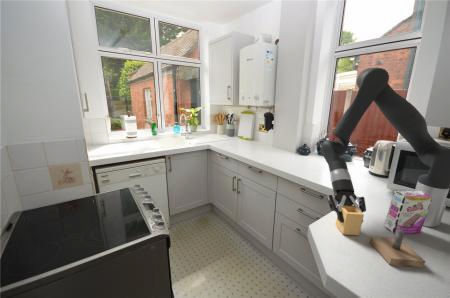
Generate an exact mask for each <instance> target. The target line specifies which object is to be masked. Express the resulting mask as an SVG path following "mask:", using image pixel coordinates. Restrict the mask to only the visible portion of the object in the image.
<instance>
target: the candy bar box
mask: <svg viewBox="0 0 450 298" xmlns="http://www.w3.org/2000/svg"><path fill="white" fill-rule="evenodd" d="M393 191H394V192H393V193H392V198H391V201H390V205H389V208H388V211H387V215H386V217H385V222H384V226H383V227H384V228H386V229H387V230H388V231H390V232H391V233H392V234H396V231H397V230H398V229H401V230H403V231H404V234H412V235H413V234H414V235H415V234H416V235H417V234H421V231H422V228H423V223H424V220H425V218H426V214H427V212H428V209H429V206H430V203H431V201H432V198H433V197H432V196H430V195H427V194H425V193H423V192H421V191H415V190H413V191H412V190H393Z"/></svg>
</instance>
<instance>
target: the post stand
mask: <svg viewBox="0 0 450 298" xmlns="http://www.w3.org/2000/svg"><path fill="white" fill-rule="evenodd" d="M404 237H405V233H404V231H403V230H401V229H398V230H397V231H396V233H394V238H393V237H380V236H379V237H378V236H370V238H369V242H368V243H369V244H370V245H371V246H372V248H374V250H375V251H376V252H377V253H378V254H379V255H380V256H381V258H382V259H383V260H384V261H385V262H386V263H387V265H389V266H399V267H410V268H420V269H421V268H422V269H423V268H424V266H425V263H426V260H424V258H422V256H421V255H419V254H418V253H416V251H414V250H413V249H412V248H411V247H410V246H409V245H408V244H407V243H406V242H404V240H403V239H404Z"/></svg>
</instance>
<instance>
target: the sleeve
mask: <svg viewBox="0 0 450 298" xmlns="http://www.w3.org/2000/svg"><path fill="white" fill-rule="evenodd" d="M353 206H354V205H353ZM353 206H347V205H344V206H343V207H341V208H342V211H341V212H342V213H343V218H344V222H343V223H340V221H339V220H338V217H337V216H336V220H335V226H336V228H338V230H339V231H340V232H341V234H342V235H348V236H360V234H361V229H362V225H363V223H362V221H363V222H364V216H365V214H364V212H363V213H362V212H361V211H360V210H359V209H358V208H355V207H353Z"/></svg>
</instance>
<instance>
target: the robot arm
mask: <svg viewBox="0 0 450 298" xmlns="http://www.w3.org/2000/svg"><path fill="white" fill-rule="evenodd" d="M389 81H390V74H389V72H388V71H387V70H386V69H384V68H383V67H369V68H365V69H363V70H362V71H360V73H359V74H357V77H356V85H357V87H358V90H357V92H356V95H355V97H354V99H353V101H352V103H351V104H350V105H349V106H348V108H347V109H346V110H345V112H344V113H343V114H342V116H340V119H339V120H338V122H337V124H336V126H335V128H334V129H333V135H334V136H335V137H336V138H337V141H336V140H335V141H334V140H330V139H328V140H324V141H323V142H322V144H321V147H320V150H321V154H322V156H323V158H324V159H325V161H326V163H327V165H328V170H329V175H330V177H329V178H330V182H331V186H332V192H333V194H329V195H327V197H326V199H327V202H328V205H329V208H330V211H331V212H335V213H336V218H337V217H338V220H339V221H340V223H343V222H344V218H343V213H342V212H341V211H342V208H341V207H343V206H344V205H347V206H353V207H355V208H358V209H359V210H360V211H361V212H362V213H363V214H364V213H365V212H366V211H367V206H366V201H365V200H366V199H365V197H364V196H357V195H356V193H355V188H354V185H353V181H352V177H351V174H350V172H349V169H348V168H349V167H348V164H347V162H346V160H345V158H342V157H343V156H344V155H345V154H346V153H347V150H348V148H349V145H350V144H349V143H350V139H351V136H352V134H353V133H354V131H355V130H356V128H357V126H358V124H359V123H360V121H361V120H362V119H363V116H364V115H365V113H366V112H367V111H368V109H369V107H371V104H372V103H373V102H374V103H375V104H376V106H377V108H378V109H379V111H380V112H381V113H382V115H383V116H384V117H385V119H387V121H388V122H389V123H390V125H391V126H392V127H393V128H394V129H395V130H396V132H398V133H399V134H400V136H402V137H403V139H404V140H405V141H406V142H407V143H408V144H409V145H410V146H411V148H412V149H413V150H414V152H415V154H416V155H417V157H418V158H419V160H420V161H421V162H422V163H423V164H424V165H425V166H427V167H429V170H428V173H427V174H425V173H424V174H423V173H422V174H420V175H419V176H418V179H417V182H416V185H415V190H414V191H421V192H423V193H425V194H427V195H430V196H432V197H433V198H432V201H431V203H430V206H429V209H428V212H427V214H426V218H425V220H424V223H423V226H425V227H428V228H436V227H437V226H441V225H440V224H441V221H442V219H443V216H444V213H445V211H446V206H447V205H446V204H445V202H446V199H447V196H448V194H449V190H450V147H446V146H443V145H441V144H440V143H438V142H437V141H436V140H435V138H433V137H432V135H430V133H429V131H428V126H427V125H428V124H427V121H426V118H425V117H424V116H423V115H422V113H421V112H420V111H419V110H418V109H417V108H416V107H415V106H414V105H413V104H412V103H411V102H409V100H407V99H406V98H404V97H403V96H401V95H400V94H399V93H397V91H395V90H394V89H393V88H392V87H391V85H390V84H389ZM335 201H336V202H337V203H335ZM363 222H364V220H363V221H362V224H363ZM423 226H422V227H423Z"/></svg>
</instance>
